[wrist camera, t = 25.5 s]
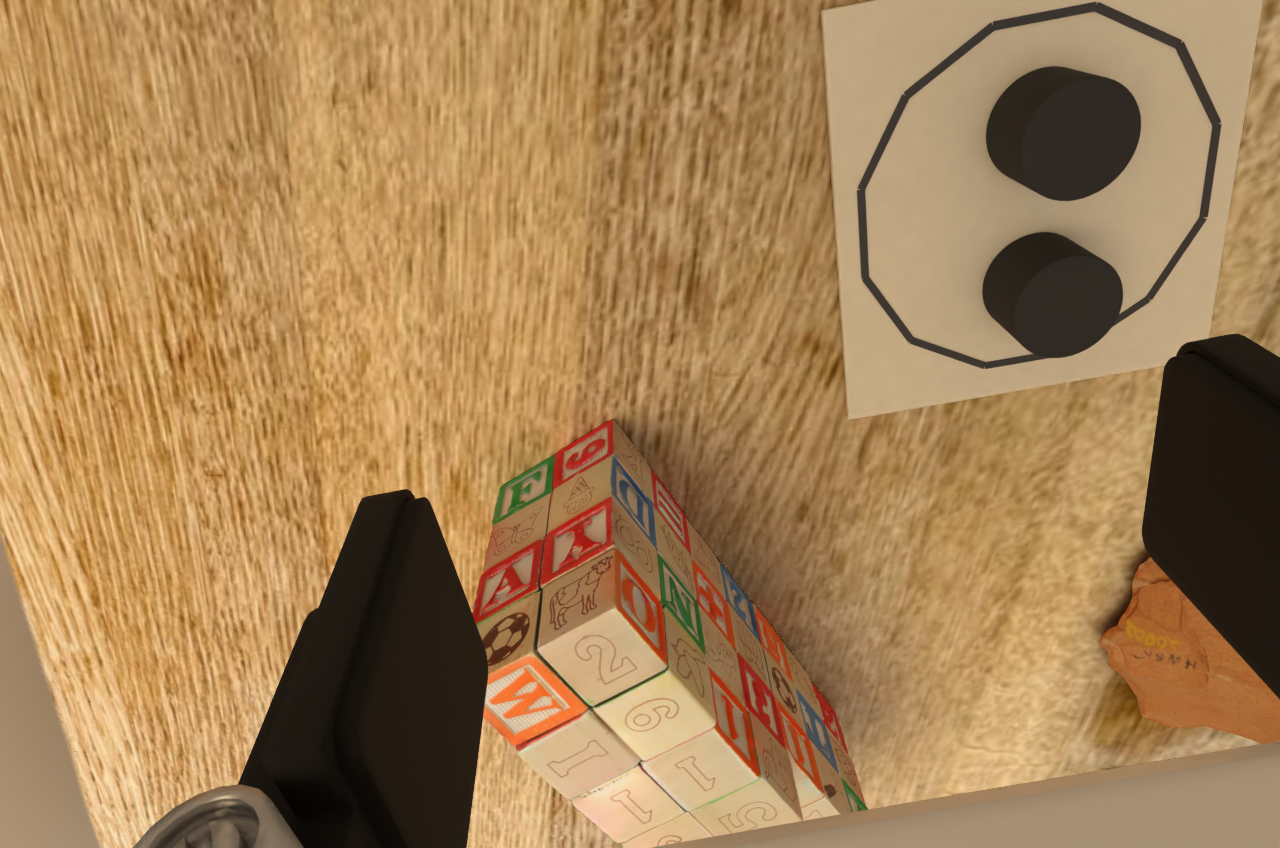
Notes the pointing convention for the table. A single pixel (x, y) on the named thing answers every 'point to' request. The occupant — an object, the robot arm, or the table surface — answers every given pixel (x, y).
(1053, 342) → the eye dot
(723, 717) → the stack of blocks
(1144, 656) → the stone
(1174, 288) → the face card
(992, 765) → the table surface
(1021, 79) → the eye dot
